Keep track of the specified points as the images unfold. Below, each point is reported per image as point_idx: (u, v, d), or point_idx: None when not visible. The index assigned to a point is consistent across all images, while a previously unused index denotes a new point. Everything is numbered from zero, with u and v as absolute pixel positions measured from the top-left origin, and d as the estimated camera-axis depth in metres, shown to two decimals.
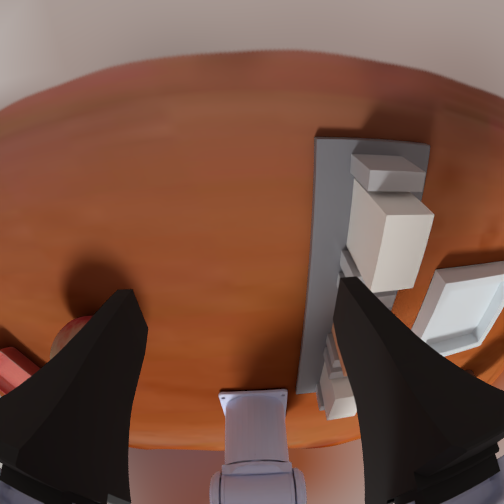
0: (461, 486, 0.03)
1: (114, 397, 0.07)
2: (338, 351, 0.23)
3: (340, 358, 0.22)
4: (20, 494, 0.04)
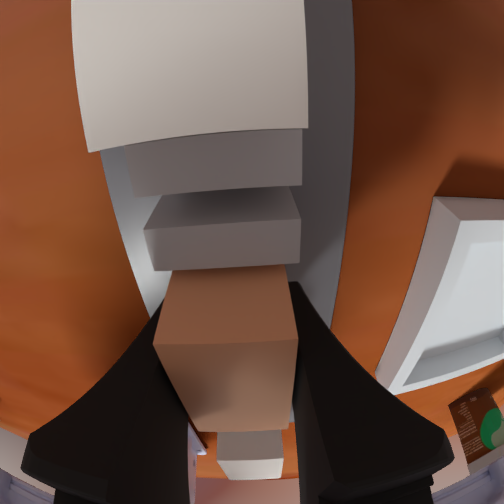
0: None
1: (177, 402, 0.07)
2: None
3: None
4: (19, 494, 0.04)
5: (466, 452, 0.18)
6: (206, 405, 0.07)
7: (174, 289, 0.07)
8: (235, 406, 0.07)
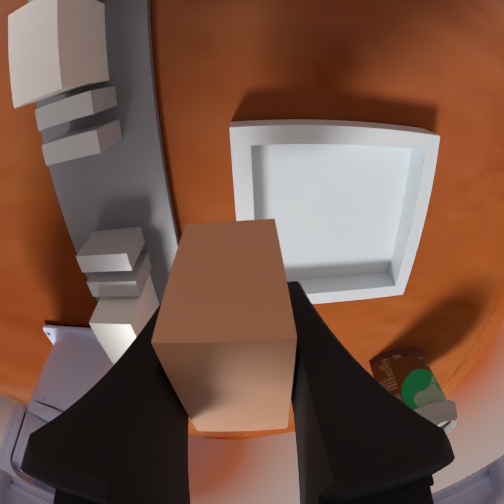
0: None
1: (178, 402, 0.07)
2: None
3: None
4: (20, 494, 0.04)
5: None
6: (204, 404, 0.07)
7: (173, 288, 0.07)
8: (234, 405, 0.07)
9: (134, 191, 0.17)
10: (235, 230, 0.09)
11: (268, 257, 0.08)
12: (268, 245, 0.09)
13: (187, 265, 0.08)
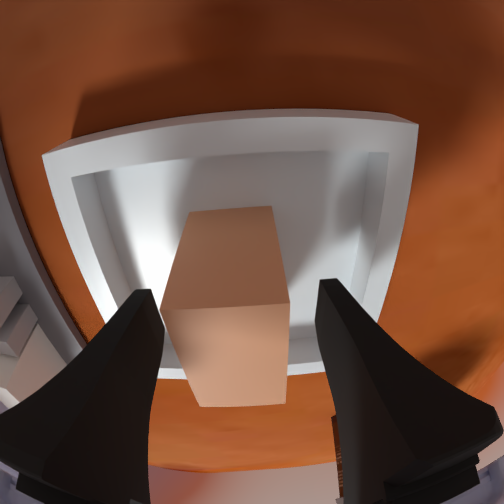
0: (436, 498, 0.03)
1: (135, 399, 0.07)
2: None
3: None
4: (19, 494, 0.04)
5: (341, 482, 0.17)
6: (207, 375, 0.08)
7: (179, 264, 0.08)
8: (234, 376, 0.08)
9: None
10: (235, 216, 0.10)
11: (265, 238, 0.09)
12: (265, 228, 0.09)
13: (191, 245, 0.09)
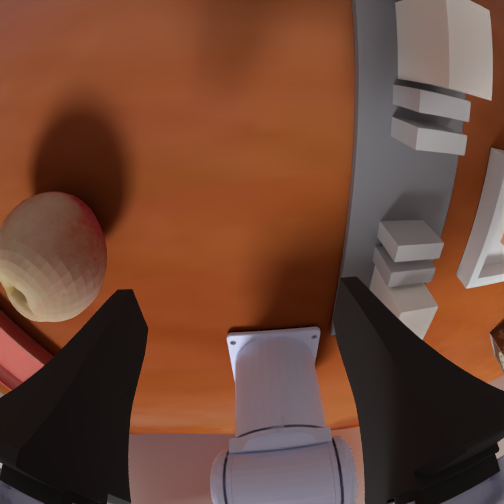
0: (461, 486, 0.03)
1: (114, 397, 0.07)
2: None
3: None
4: (20, 494, 0.04)
5: None
6: None
7: None
8: None
9: (431, 188, 0.17)
10: None
11: None
12: None
13: None
